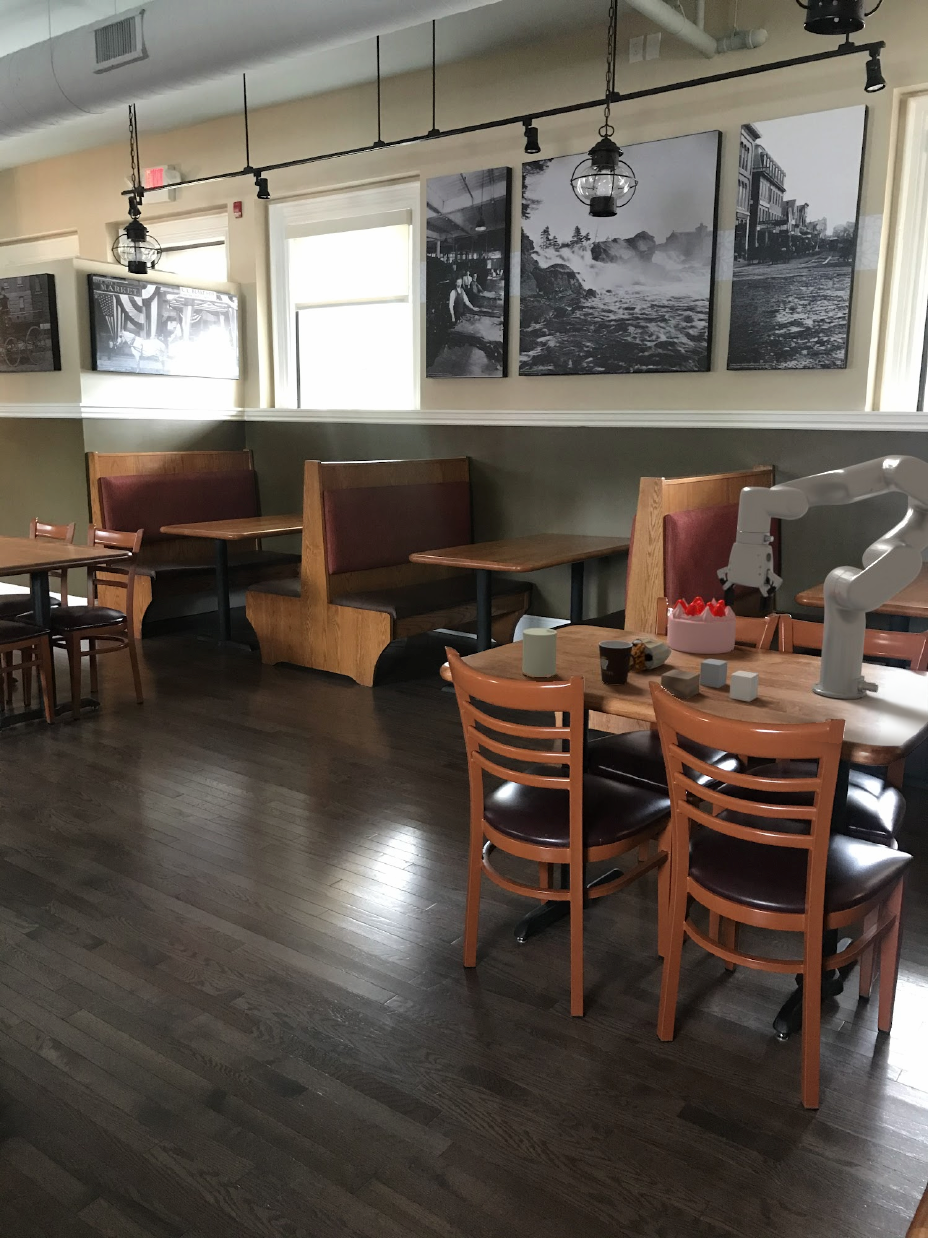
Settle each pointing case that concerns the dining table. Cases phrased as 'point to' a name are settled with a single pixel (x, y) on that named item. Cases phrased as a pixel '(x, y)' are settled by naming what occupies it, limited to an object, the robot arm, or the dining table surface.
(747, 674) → the ceramic block
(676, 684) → the metal block
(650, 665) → the nautilus
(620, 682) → the coffee mug
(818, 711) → the dining table surface
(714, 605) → the cake
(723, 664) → the grey block
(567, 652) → the dining table surface
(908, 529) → the robot arm
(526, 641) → the can
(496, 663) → the dining table surface
